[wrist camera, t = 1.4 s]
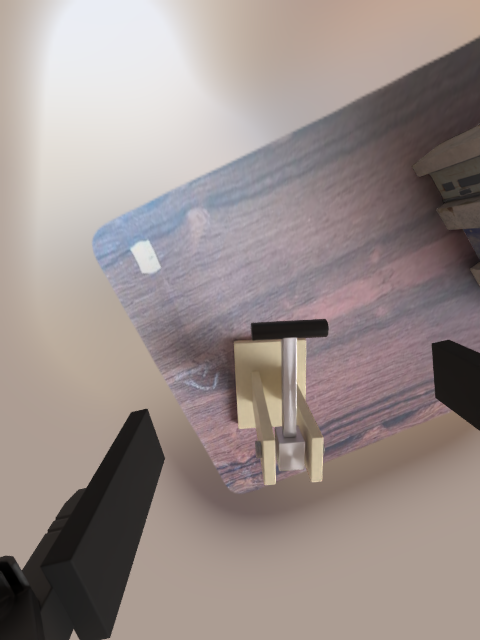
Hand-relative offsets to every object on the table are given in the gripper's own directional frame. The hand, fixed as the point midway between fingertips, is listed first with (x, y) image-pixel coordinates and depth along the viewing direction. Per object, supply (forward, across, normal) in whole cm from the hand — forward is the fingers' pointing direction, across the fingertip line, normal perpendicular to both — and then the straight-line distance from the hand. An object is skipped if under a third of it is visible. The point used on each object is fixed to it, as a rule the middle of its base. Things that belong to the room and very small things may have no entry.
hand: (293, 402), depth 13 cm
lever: (+12, +1, -6) cm, 13 cm away
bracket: (+24, 0, -11) cm, 26 cm away
